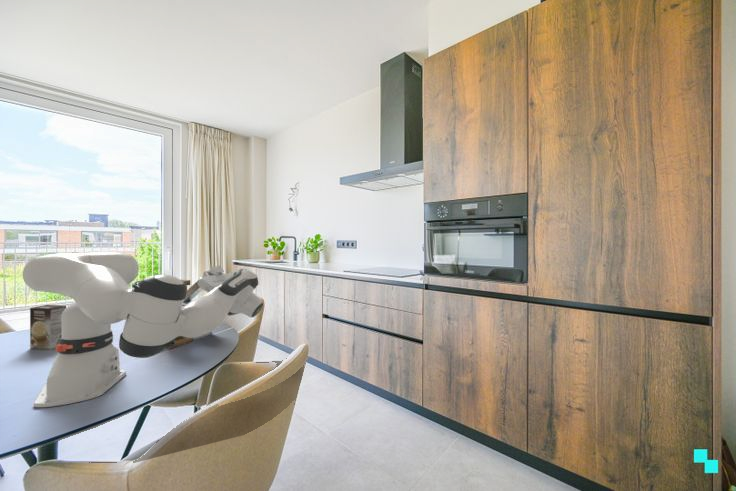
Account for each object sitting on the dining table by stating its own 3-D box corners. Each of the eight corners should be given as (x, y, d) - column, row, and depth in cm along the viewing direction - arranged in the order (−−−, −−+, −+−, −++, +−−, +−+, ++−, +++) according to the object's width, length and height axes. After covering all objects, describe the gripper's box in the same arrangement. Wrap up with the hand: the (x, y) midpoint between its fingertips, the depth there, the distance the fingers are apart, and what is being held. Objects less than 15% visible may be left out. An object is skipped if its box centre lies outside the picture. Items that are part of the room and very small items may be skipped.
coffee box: (28, 348, 120) (28, 307, 120) (47, 343, 127) (47, 304, 126) (49, 349, 119) (49, 308, 119) (67, 344, 126) (67, 305, 125)
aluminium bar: (224, 271, 135) (220, 265, 136) (216, 272, 131) (213, 266, 132) (190, 300, 141) (187, 295, 142) (183, 302, 138) (180, 296, 138)
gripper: (209, 300, 122) (186, 281, 126) (245, 292, 141) (224, 275, 145) (215, 286, 121) (192, 268, 125) (250, 280, 140) (230, 264, 144)
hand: (209, 272), depth 135 cm, fingers closed on aluminium bar, 4 cm apart
